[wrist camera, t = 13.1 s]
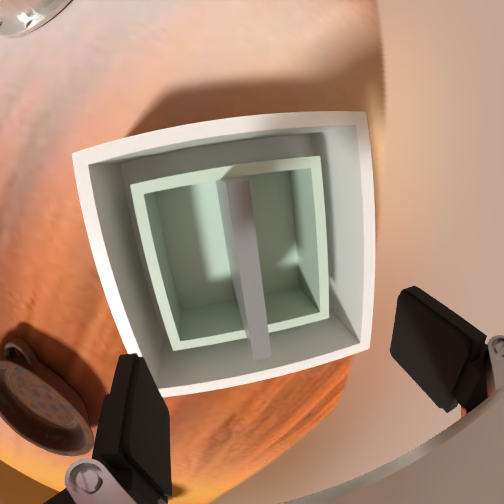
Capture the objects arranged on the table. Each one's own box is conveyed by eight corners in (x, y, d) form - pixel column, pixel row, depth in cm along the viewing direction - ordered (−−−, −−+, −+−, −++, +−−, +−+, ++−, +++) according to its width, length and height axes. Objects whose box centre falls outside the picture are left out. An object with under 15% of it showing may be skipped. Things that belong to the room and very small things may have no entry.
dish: (83, 341, 27) (70, 368, 23) (112, 449, 33) (109, 473, 29) (-21, 318, 24) (-40, 337, 19) (23, 426, 30) (15, 446, 25)
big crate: (111, 155, 23) (71, 153, 14) (315, 124, 25) (366, 111, 17) (157, 339, 29) (149, 398, 20) (328, 303, 31) (369, 348, 23)
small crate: (145, 179, 23) (113, 190, 14) (292, 156, 25) (347, 155, 15) (176, 314, 27) (171, 384, 18) (304, 289, 29) (350, 343, 20)
